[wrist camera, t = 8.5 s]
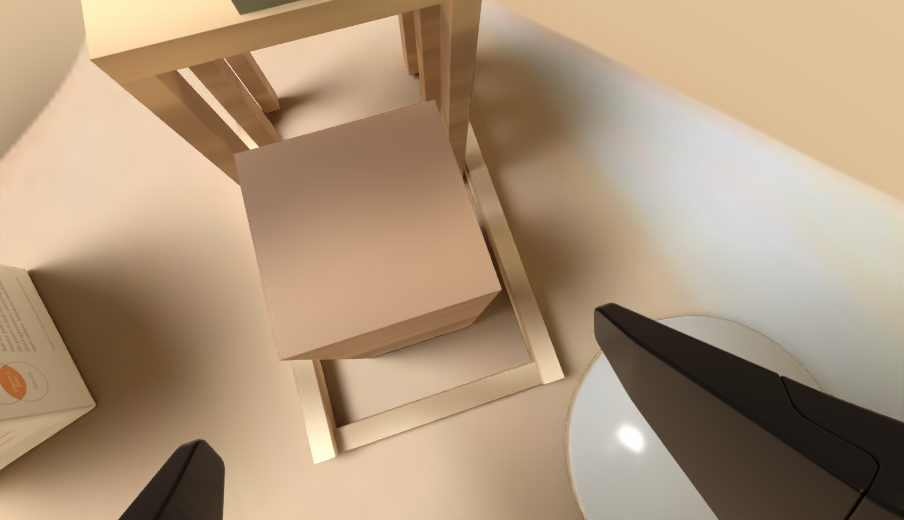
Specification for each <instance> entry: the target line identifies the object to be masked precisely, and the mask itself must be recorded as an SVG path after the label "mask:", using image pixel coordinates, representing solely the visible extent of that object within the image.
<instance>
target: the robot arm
mask: <svg viewBox="0 0 904 520" xmlns="http://www.w3.org/2000/svg"><path fill="white" fill-rule="evenodd" d="M594 332H595V337H596V340H597V342H598V344H599V346H600V348H601V349H602V351H603V353H604V355H605V356H606V358H607V360H608V362H609V363H610V365H611V367H612V369H613V370H614V372H615V374H616V375H617V377H618V379H619V381H620V382H621V384H622V386H623V388H624V389H625V391H626V393H627V394H628V396H629V398H630V399H631V401H632V402H633V403H634V405H635V406H636V408H637V409H638V410H639V412H640V413H641V415H642V416H643V417H644V419H645V420H646V421H647V423H648V424H649V425H650V427H651V428H652V430H653V431H654V432H655V434H656V435H657V436H658V438H659V439H660V441H661V442H662V443H663V445H664V446H665V447H666V449H667V450H668V451H669V453H670V454H671V456H672V457H673V458H674V460H675V461H676V462H677V464H678V465H679V466H680V468H681V469H682V471H683V472H684V473H685V475H686V476H687V477H688V479H689V480H690V482H691V483H692V484H693V486H694V487H695V488H696V490H697V491H698V492H699V494H700V495H701V497H702V498H703V499H704V501H705V502H706V503H707V505H708V506H709V508H710V509H711V510H712V512H713V513H714V514H715V516H716V517H717V518H718V520H904V422H901V421H899V420H896V419H893V418H890V417H887V416H885V415H882V414H879V413H876V412H874V411H871V410H868V409H866V408H863V407H860V406H858V405H855V404H852V403H849V402H847V401H844V400H841V399H839V398H836V397H834V396H831V395H829V394H827V393H824V392H822V391H819V390H817V389H814V388H812V387H809V386H807V385H805V384H802V383H800V382H798V381H795V380H793V379H791V378H788V377H786V376H783V375H782V376H780V375H779V374H778V373H776V372H774V371H772V370H769V369H767V368H765V367H762V366H760V365H757V364H755V363H753V362H750V361H748V360H746V359H743V358H741V357H739V356H736V355H734V354H732V353H729V352H727V351H725V350H722V349H720V348H718V347H715V346H713V345H711V344H708V343H706V342H704V341H701V340H699V339H697V338H694V337H692V336H690V335H687V334H685V333H683V332H680V331H678V330H676V329H673V328H671V327H669V326H666V325H664V324H662V323H659V322H657V321H655V320H652V319H650V318H648V317H645V316H643V315H641V314H638V313H636V312H634V311H631V310H629V309H627V308H624V307H622V306H620V305H617V304H615V303H608V304H605V305H602V306H599V307H597V308H596V309H595V311H594ZM224 480H225V466H224V462H223V460H222V458H221V457H220V456H219V455H218V454H217V453H216V452H215V450H214V449H213V448H212V447H211V446H210V445H209V444H208V443H207V442H206V441H205V440H203V439H197V440H194V441H191V442H188V443H185V444H183V445H181V446H180V447H178V449H177V450H176V451H175V452H174V453H173V454H172V456H171V457H170V458H169V459H168V460H167V462H166V463H165V464H164V465H163V466H162V468H161V469H160V470H159V471H158V472H157V474H156V475H155V476H154V477H153V478H152V480H151V481H150V482H149V483H148V484H147V486H146V487H145V488H144V489H143V490H142V492H141V493H140V494H139V495H138V496H137V498H136V499H135V500H134V501H133V502H132V504H131V505H130V506H129V507H128V509H127V510H126V511H125V512H124V513H123V515H122V516H121V517H120V518H119V519H118V520H223V504H224Z"/></svg>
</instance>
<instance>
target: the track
mask: <svg viewBox="0 0 904 520" xmlns="http://www.w3.org/2000/svg"><path fill="white" fill-rule="evenodd" d="M236 123H237V122H236ZM237 127H238V131H239V136H240V139H241V140H242V141H243V142H244V143H245V144H246V145H247V146H248V148H249V149H250V150H251V149H254V148H258V145H257V144H256V143H255V142H254V141H253V140H252V139H251V138H250V136H249V135H248V134H247V133H246V132H245V131H244V130H243V128H242V127H241V126H240V125H239V124H238V123H237ZM464 172H465V175H466V177H467V180H468V183H469V186H470V189H471V191H472V194H473V197H474V200H475V203H476V205H477V208H478V211H479V214H480V217H481V219H482V222H483V225H484V228H485V231H486V234H487V236H488V239H489V242H490V245H491V248H492V250H493V253H494V256H495V259H496V262H497V264H498V267H499V270H500V273H501V276H502V279H503V281H504V284H505V287H506V290H507V293H508V295H509V298H510V301H511V304H512V307H513V309H514V312H515V315H516V318H517V321H518V324H519V326H520V329H521V332H522V335H523V338H524V340H525V343H526V346H527V349H528V352H529V354H530V357H531V360H532V362H529V363H526V364H524V365H521V366H518V367H515V368H512V369H509V370H506V371H503V372H500V373H497V374H494V375H491V376H488V377H485V378H482V379H479V380H476V381H473V382H470V383H468V384H465V385H462V386H459V387H456V388H453V389H450V390H447V391H444V392H441V393H438V394H435V395H432V396H429V397H426V398H423V399H420V400H417V401H414V402H411V403H409V404H406V405H403V406H400V407H397V408H394V409H391V410H388V411H385V412H382V413H379V414H376V415H373V416H370V417H367V418H364V419H361V420H358V421H355V422H352V423H350V424H347V425H344V426H341V427H338V428H337V427H336V423H335V419H334V415H333V411H332V407H331V402H330V398H329V394H328V390H327V386H326V382H325V378H324V374H323V370H322V366H321V361H320V360H291V364H292V368H293V373H294V377H295V382H296V386H297V390H298V395H299V399H300V404H301V408H302V412H303V417H304V421H305V426H306V430H307V434H308V439H309V443H310V447H311V452H312V456H313V461H314V464H316V463H319V462H322V461H325V460H328V459H330V458H333V457H336V456H337V455H338V454H339V453H342V452H345V451H348V450H351V449H353V448H356V447H359V446H362V445H365V444H368V443H371V442H374V441H377V440H380V439H382V438H385V437H388V436H391V435H394V434H397V433H400V432H403V431H406V430H409V429H411V428H414V427H417V426H420V425H423V424H426V423H429V422H432V421H435V420H438V419H440V418H443V417H446V416H449V415H452V414H455V413H458V412H461V411H464V410H467V409H469V408H472V407H475V406H478V405H481V404H484V403H487V402H490V401H493V400H496V399H498V398H501V397H504V396H507V395H510V394H513V393H516V392H519V391H522V390H525V389H527V388H530V387H533V386H536V385H539V384H542V383H543V384H548V383H550V382H553V381H556V380H559V379H562V378H565V377H564V375H563V372H562V369H561V367H560V364H559V361H558V358H557V356H556V353H555V350H554V348H553V345H552V342H551V340H550V337H549V334H548V331H547V329H546V326H545V323H544V321H543V318H542V315H541V312H540V310H539V307H538V304H537V302H536V299H535V296H534V294H533V291H532V288H531V285H530V283H529V280H528V277H527V275H526V272H525V269H524V267H523V264H522V261H521V258H520V256H519V253H518V250H517V248H516V245H515V242H514V239H513V237H512V234H511V231H510V229H509V226H508V223H507V221H506V218H505V215H504V212H503V210H502V207H501V204H500V202H499V199H498V196H497V194H496V191H495V188H494V185H493V183H492V180H491V177H490V175H489V172H488V169H487V166H486V164H485V161H484V158H483V156H482V153H481V150H480V148H479V145H478V142H477V139H476V137H475V134H474V131H473V129H472V126H471V123H470V121H469V124H468V133H467V143H466V152H465V162H464Z"/></svg>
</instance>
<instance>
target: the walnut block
mask: <svg viewBox="0 0 904 520" xmlns="http://www.w3.org/2000/svg"><path fill="white" fill-rule="evenodd" d="M234 159H235V163H236V168H237V172H238V177H239V181H240V186H241V190H242V195H243V199H244V204H245V208H246V213H247V217H248V222H249V226H250V231H251V235H252V240H253V244H254V249H255V253H256V258H257V262H258V267H259V271H260V276H261V280H262V285H263V289H264V294H265V298H266V303H267V308H268V312H269V317H270V321H271V326H272V330H273V335H274V339H275V344H276V348H277V353H278V357H279V361H280V360H323V359H365V358H373V357H376V356H379V355H382V354H385V353H388V352H391V351H394V350H397V349H401V348H404V347H407V346H410V345H413V344H416V343H419V342H422V341H425V340H428V339H431V338H434V337H437V336H440V335H443V334H447V333H450V332H453V331H456V330H459V329H462V328H465V327H468V326H471V324H472V323H473V322H474V321H475V320H476V319H477V317H478V316H479V315H480V314H481V313H482V312H483V311H484V309H485V308H486V307H487V306H488V305H489V304H490V302H491V301H492V300H493V299H494V298H495V297H496V295H497V294H498V293H499V292H500V291H501V290H502V289H501V286H500V283H499V280H498V277H497V275H496V272H495V269H494V266H493V263H492V260H491V258H490V255H489V252H488V249H487V246H486V243H485V241H484V238H483V235H482V232H481V229H480V226H479V224H478V221H477V218H476V215H475V212H474V209H473V207H472V204H471V201H470V198H469V195H468V192H467V190H466V187H465V184H464V181H463V178H462V175H461V173H460V170H459V167H458V164H457V161H456V159H455V156H454V153H453V150H452V147H451V144H450V142H449V139H448V136H447V133H446V130H445V127H444V125H443V122H442V119H441V116H440V113H439V110H438V108H437V105H436V102H435V100H431V101H427V102H424V103H420V104H416V105H413V106H409V107H405V108H401V109H398V110H394V111H390V112H387V113H383V114H379V115H376V116H372V117H368V118H365V119H361V120H357V121H354V122H350V123H346V124H343V125H339V126H335V127H332V128H328V129H324V130H321V131H317V132H313V133H310V134H306V135H302V136H299V137H295V138H291V139H288V140H284V141H280V142H277V143H273V144H269V145H266V146H262V147H258V148H254V149H251V150H247V151H243V152H240V153H236V154H234Z"/></svg>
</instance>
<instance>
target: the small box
mask: <svg viewBox="0 0 904 520" xmlns="http://www.w3.org/2000/svg"><path fill="white" fill-rule="evenodd" d="M95 405H96V404H95V402H94V400H93V398H92V397H91V395H90V393H89V391H88V389H87V387H86V385H85V383H84V381H83V379H82V377H81V375H80V373H79V372H78V370H77V368H76V366H75V364H74V362H73V360H72V358H71V356H70V354H69V352H68V350H67V348H66V346H65V344H64V342H63V340H62V338H61V336H60V334H59V332H58V331H57V329H56V327H55V325H54V323H53V321H52V319H51V317H50V315H49V313H48V312H47V310H46V308H45V306H44V304H43V302H42V300H41V298H40V296H39V294H38V292H37V291H36V289H35V287H34V285H33V283H32V281H31V279H30V277H29V275H28V273H27V271H26V270H25V269H20V268H15V267H9V266H5V265H0V470H1V469H2V468H4V467H5V466H7V465H8V464H10V463H11V462H13V461H14V460H16V459H17V458H19V457H20V456H22V455H23V454H25V453H26V452H28V451H29V450H31V449H32V448H34V447H35V446H37V445H39V444H40V443H42V442H43V441H45V440H46V439H48V438H49V437H51V436H53V435H54V434H55V433H57V432H58V431H60V430H61V429H63V428H64V427H66V426H67V425H69V424H70V423H72V422H73V421H75V420H76V419H78V418H79V417H81V416H82V415H84V414H85V413H87V412H89V411H90V410H92V409H93V408H94V407H95Z"/></svg>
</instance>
